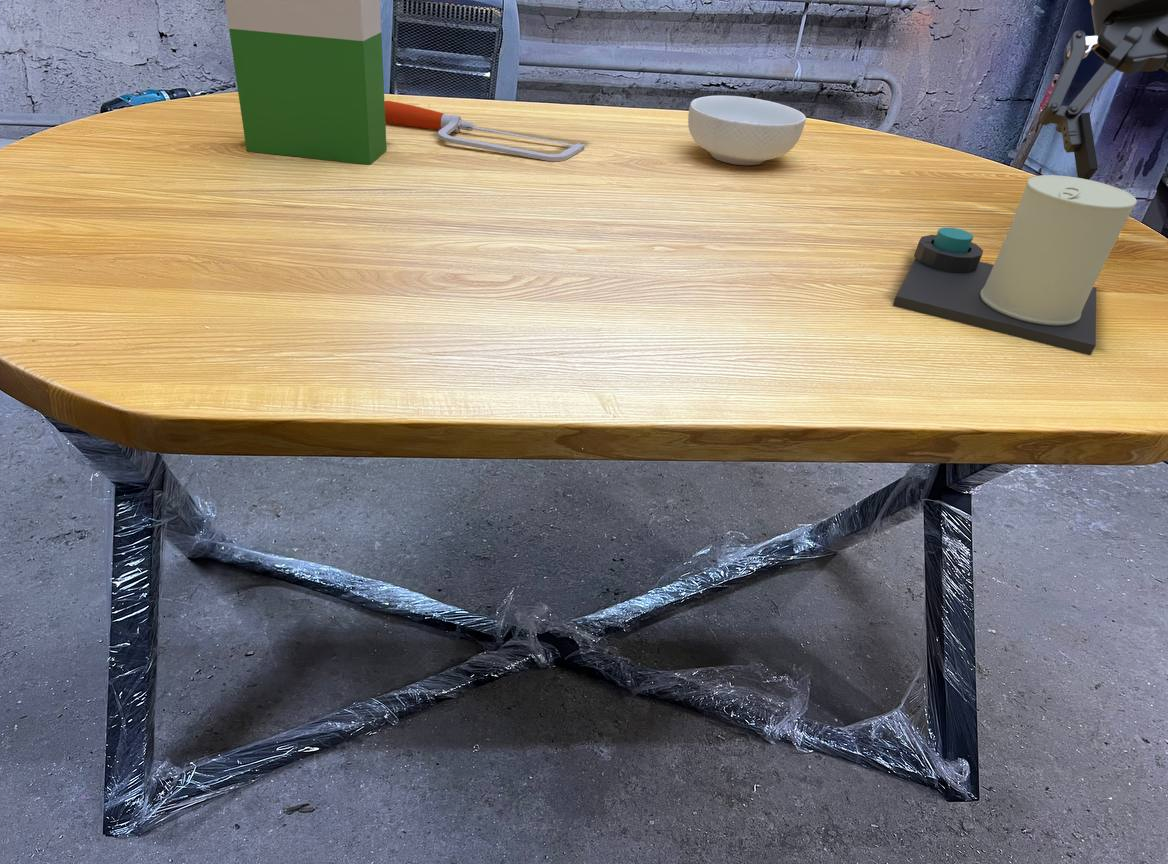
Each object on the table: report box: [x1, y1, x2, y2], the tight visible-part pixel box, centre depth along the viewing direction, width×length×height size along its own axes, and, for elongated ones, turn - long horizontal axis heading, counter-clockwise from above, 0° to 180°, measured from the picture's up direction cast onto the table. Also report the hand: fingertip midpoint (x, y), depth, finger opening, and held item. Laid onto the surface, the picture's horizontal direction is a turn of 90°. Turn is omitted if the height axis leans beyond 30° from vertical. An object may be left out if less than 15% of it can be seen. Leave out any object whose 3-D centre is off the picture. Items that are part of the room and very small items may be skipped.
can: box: [980, 174, 1138, 326], centre depth 79 cm, size 9×9×12 cm
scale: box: [892, 234, 1097, 356], centre depth 85 cm, size 18×17×3 cm
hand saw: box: [384, 100, 586, 162], centre depth 123 cm, size 33×3×10 cm
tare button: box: [933, 227, 974, 253], centre depth 90 cm, size 4×4×2 cm
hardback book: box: [224, 0, 388, 165], centre depth 108 cm, size 18×7×24 cm, turn 81°
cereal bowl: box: [687, 95, 807, 166], centre depth 122 cm, size 17×17×7 cm
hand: (1163, 168), depth 84 cm, fingers open, 13 cm apart
